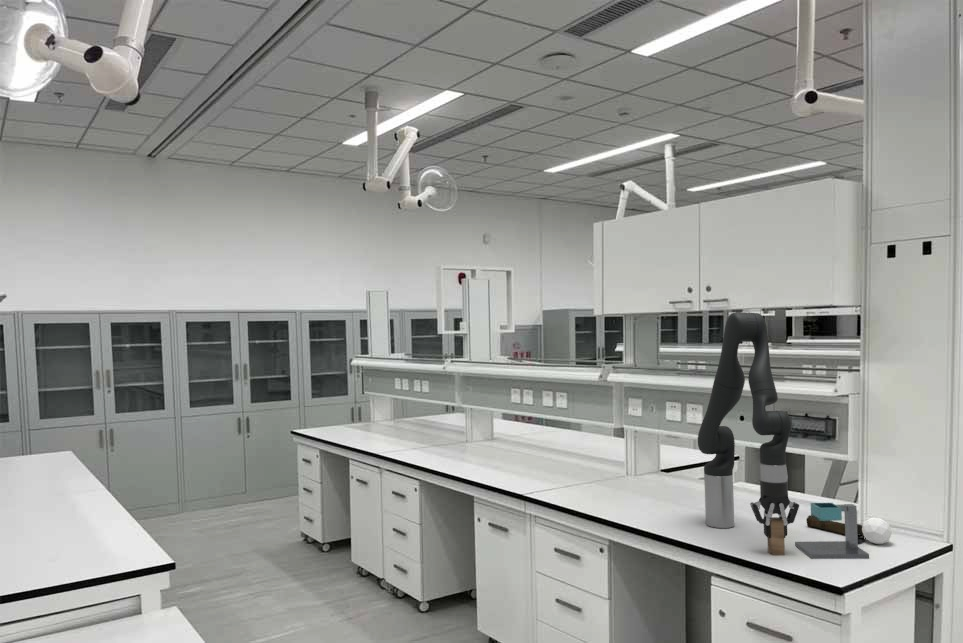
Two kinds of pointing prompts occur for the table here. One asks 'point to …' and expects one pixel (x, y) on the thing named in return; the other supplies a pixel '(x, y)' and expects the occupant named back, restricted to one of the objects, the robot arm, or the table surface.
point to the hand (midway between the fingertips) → (775, 537)
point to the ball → (876, 530)
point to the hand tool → (830, 525)
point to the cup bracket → (834, 547)
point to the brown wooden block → (776, 537)
